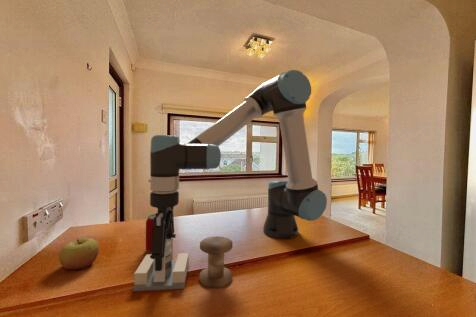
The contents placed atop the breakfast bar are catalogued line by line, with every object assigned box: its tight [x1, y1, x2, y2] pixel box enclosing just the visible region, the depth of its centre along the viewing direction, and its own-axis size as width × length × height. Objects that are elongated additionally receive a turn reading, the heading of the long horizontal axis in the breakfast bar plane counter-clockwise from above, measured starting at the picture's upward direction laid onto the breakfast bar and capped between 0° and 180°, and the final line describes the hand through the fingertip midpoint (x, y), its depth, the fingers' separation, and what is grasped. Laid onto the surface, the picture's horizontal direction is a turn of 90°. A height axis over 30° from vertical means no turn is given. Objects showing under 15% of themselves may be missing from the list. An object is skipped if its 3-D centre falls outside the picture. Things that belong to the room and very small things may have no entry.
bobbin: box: [199, 236, 233, 289], centre depth 60 cm, size 9×9×10 cm
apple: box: [58, 237, 100, 271], centre depth 65 cm, size 10×10×8 cm
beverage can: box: [145, 213, 156, 253], centre depth 77 cm, size 7×7×12 cm
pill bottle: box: [164, 241, 173, 276], centre depth 60 cm, size 5×5×8 cm
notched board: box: [132, 252, 190, 292], centre depth 61 cm, size 12×12×4 cm
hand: (164, 269), depth 61 cm, fingers open, 10 cm apart
